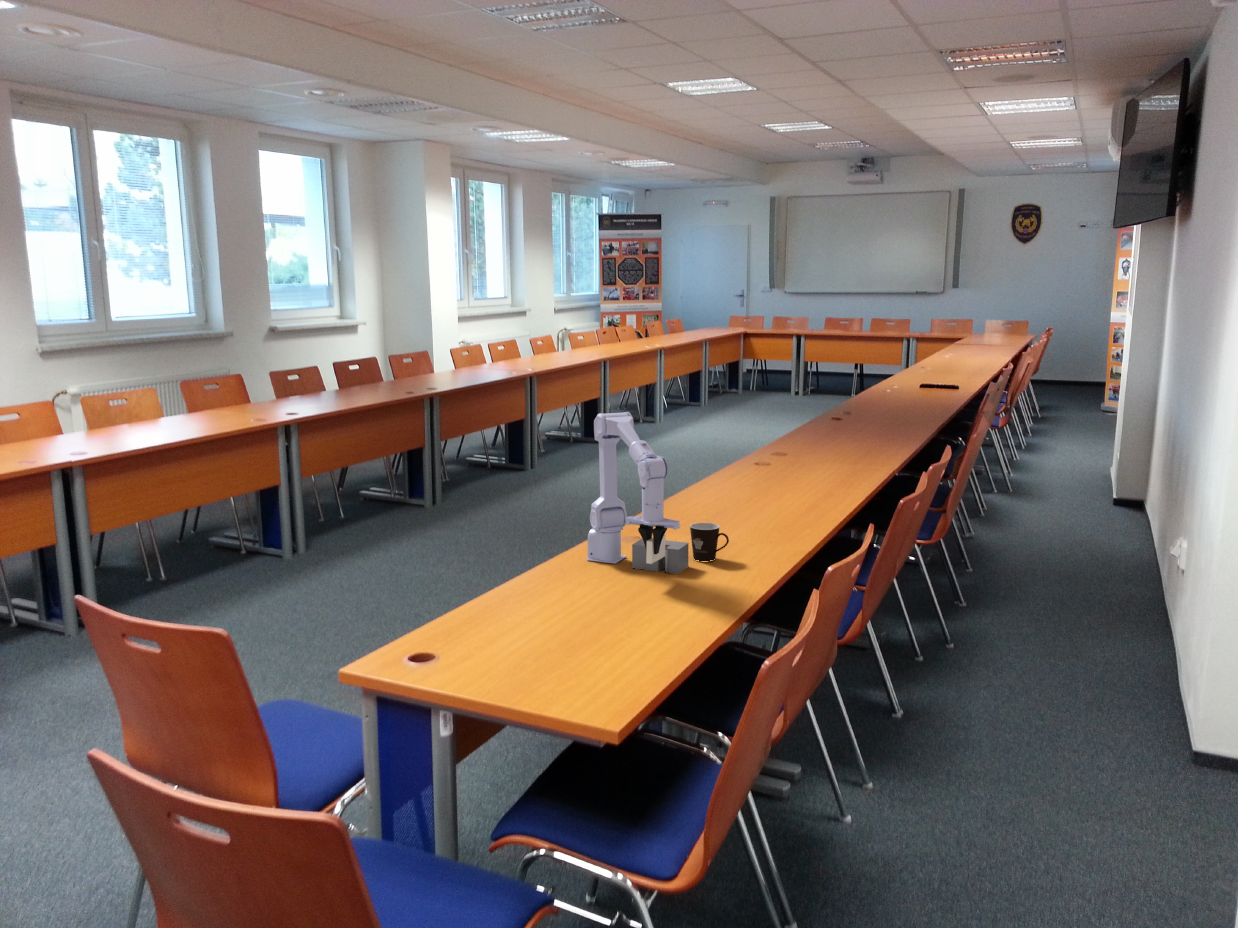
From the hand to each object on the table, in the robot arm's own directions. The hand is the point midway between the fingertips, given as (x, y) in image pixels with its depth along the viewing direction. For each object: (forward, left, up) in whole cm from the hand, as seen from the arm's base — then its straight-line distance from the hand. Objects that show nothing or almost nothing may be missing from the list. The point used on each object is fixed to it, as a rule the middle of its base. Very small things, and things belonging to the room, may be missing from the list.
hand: (652, 552), depth 247 cm
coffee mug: (+6, +28, -9) cm, 30 cm away
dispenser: (-4, +16, -9) cm, 19 cm away
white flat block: (0, +2, -2) cm, 3 cm away
